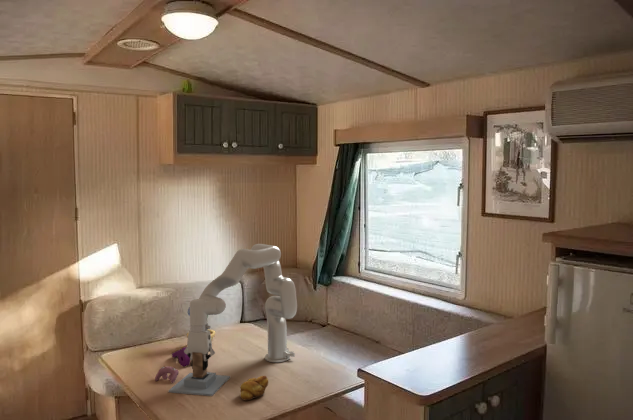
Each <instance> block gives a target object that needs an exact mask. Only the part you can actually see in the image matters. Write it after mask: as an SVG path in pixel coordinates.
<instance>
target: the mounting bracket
mask: <svg viewBox="0 0 633 420" xmlns="http://www.w3.org/2000/svg"><path fill="white" fill-rule="evenodd" d="M186 348H187V346H185V347H182V348H180V349H178V350H177V351H174V352H172V353H171V357H172V359H176V358H177V359H178V361H179V362H178V363H179V364H180V366H181V367H183V368H184V367H188V366H190V365H191V360H190V358H189V357H188V355H187V354H185V353H184V350H185V349H186Z"/></svg>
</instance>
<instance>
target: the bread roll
mask: <svg viewBox="0 0 633 420" xmlns="http://www.w3.org/2000/svg"><path fill="white" fill-rule="evenodd" d="M268 385H269V378H268V377H267V376H266V375H260V376H258V377H257V378H256V377H251V378H248V380H246V381H243V382H242V383H241V384H240V386H239V388H240V395H239V396H240V399H242V400H243V401H250V400H253V399H254V398H260V397H262V396H263V395H264V394H265V391H266V388H267V387H268Z"/></svg>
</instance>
